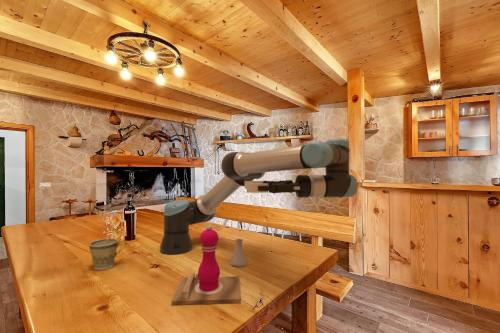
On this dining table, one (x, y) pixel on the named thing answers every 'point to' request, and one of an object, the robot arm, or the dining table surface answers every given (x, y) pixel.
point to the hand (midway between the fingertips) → (245, 186)
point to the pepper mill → (208, 261)
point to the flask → (239, 255)
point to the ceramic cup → (104, 252)
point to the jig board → (193, 295)
